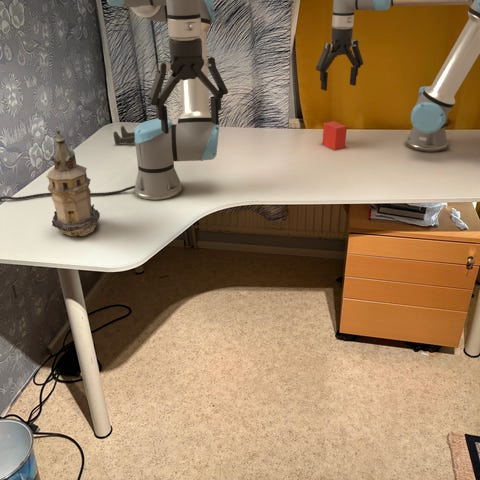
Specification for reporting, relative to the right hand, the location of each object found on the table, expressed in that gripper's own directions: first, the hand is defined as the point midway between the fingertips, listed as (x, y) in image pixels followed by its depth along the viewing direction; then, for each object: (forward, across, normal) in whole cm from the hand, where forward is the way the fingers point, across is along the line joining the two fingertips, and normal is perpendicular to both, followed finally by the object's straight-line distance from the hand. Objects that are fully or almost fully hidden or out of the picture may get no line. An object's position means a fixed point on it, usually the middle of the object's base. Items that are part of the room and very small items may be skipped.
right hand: (338, 87), depth 203 cm
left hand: (-9, -79, -42) cm, 90 cm away
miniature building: (+23, -107, -19) cm, 111 cm away
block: (+23, 0, 0) cm, 23 cm away
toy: (+23, -61, +40) cm, 77 cm away
